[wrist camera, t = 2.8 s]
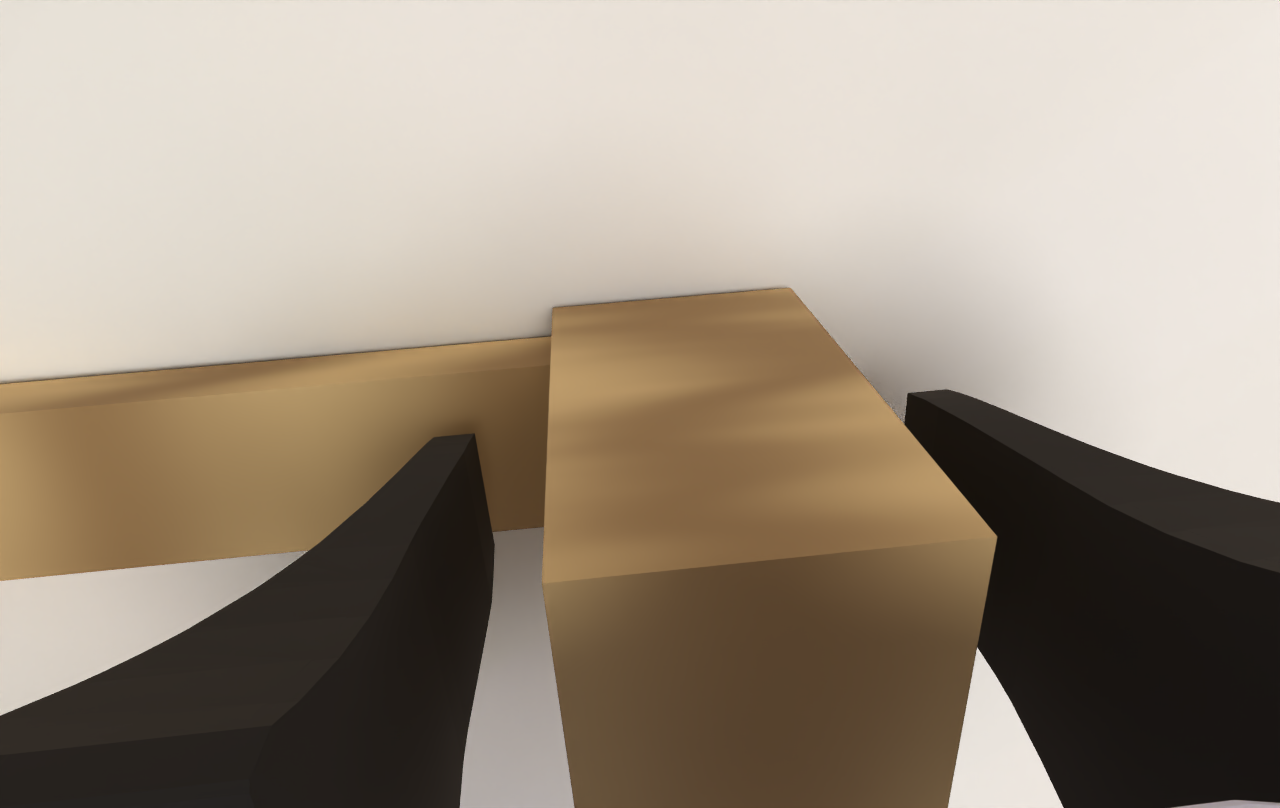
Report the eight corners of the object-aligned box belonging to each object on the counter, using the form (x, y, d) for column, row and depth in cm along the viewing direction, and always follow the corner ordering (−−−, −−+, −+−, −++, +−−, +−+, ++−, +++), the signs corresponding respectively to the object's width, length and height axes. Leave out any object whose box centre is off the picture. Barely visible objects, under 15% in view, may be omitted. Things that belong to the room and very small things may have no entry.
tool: (790, 287, 13) (996, 535, 7) (784, 487, 15) (943, 829, 9) (-277, 378, 12) (-1155, 758, 6) (-146, 579, 14) (-717, 1033, 8)
